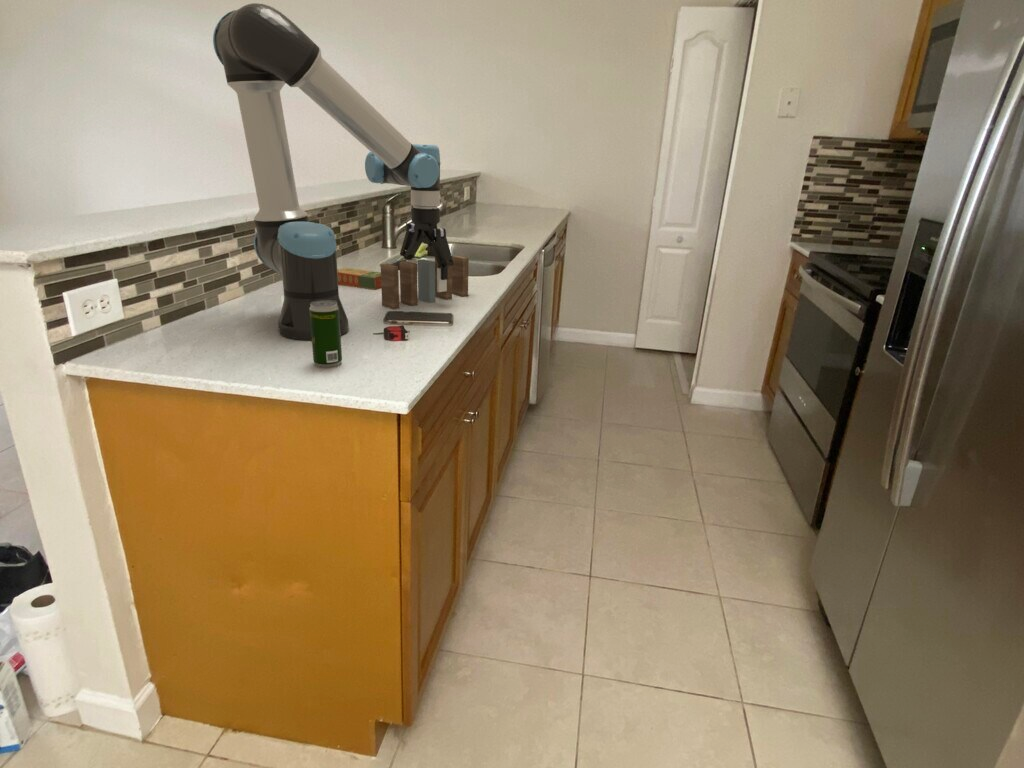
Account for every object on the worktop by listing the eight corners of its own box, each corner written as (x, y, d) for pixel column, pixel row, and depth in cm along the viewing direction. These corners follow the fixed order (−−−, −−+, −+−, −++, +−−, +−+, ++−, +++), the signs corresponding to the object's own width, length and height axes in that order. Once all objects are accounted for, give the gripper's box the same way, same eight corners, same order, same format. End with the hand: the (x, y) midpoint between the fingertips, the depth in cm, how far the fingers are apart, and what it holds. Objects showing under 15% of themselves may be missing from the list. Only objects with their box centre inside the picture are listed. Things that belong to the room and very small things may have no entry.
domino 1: (393, 309, 162) (391, 267, 158) (382, 305, 165) (380, 264, 162) (399, 308, 164) (398, 266, 160) (388, 304, 167) (386, 263, 163)
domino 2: (411, 306, 166) (410, 264, 162) (400, 302, 169) (399, 262, 166) (417, 305, 168) (417, 264, 164) (406, 301, 171) (405, 261, 167)
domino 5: (462, 296, 178) (463, 258, 174) (451, 293, 182) (451, 255, 178) (468, 296, 180) (468, 257, 176) (456, 292, 183) (457, 255, 179)
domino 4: (446, 299, 174) (446, 260, 170) (435, 296, 178) (434, 257, 174) (451, 298, 176) (452, 259, 172) (440, 295, 179) (440, 257, 175)
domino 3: (429, 302, 170) (429, 262, 166) (418, 299, 174) (417, 259, 170) (435, 301, 172) (435, 261, 168) (424, 298, 175) (423, 259, 171)
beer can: (347, 364, 121) (344, 303, 117) (323, 370, 118) (318, 308, 113) (332, 357, 125) (328, 298, 120) (308, 363, 121) (303, 302, 117)
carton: (346, 280, 195) (346, 266, 194) (390, 286, 190) (390, 272, 188) (330, 285, 188) (329, 270, 186) (375, 291, 182) (374, 276, 181)
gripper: (467, 211, 158) (466, 293, 166) (408, 202, 174) (409, 278, 182) (444, 212, 153) (444, 297, 161) (386, 203, 169) (388, 280, 177)
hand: (426, 287), depth 171 cm, fingers open, 13 cm apart
